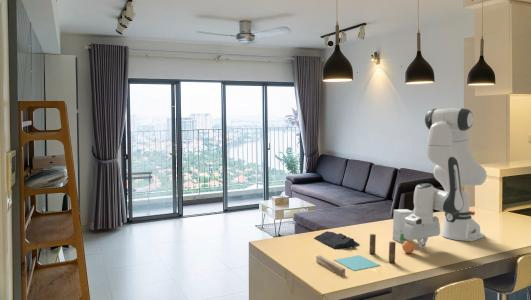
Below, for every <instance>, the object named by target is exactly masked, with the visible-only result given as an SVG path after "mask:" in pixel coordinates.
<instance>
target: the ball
mask: <svg viewBox="0 0 531 300" xmlns="http://www.w3.org/2000/svg"><path fill="white" fill-rule="evenodd" d="M401 248H402V250H403V251H404V253H407V254H412V253H413V252H414V251H415V249H416V245H415V244H414V241H412V242H411V241H405V242H402V246H401Z"/></svg>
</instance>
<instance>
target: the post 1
mask: <svg viewBox="0 0 531 300" xmlns="http://www.w3.org/2000/svg"><path fill="white" fill-rule="evenodd" d="M376 238H377V236H376V234H375V233H370V234H369V255H373V256H374V255H376V243H377V241H376Z"/></svg>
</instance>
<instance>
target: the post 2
mask: <svg viewBox="0 0 531 300" xmlns="http://www.w3.org/2000/svg"><path fill="white" fill-rule="evenodd" d="M396 242H397V241H389V242H388V263H389V264H392V265H394V264H396V244H397V243H396Z"/></svg>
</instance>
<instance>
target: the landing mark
mask: <svg viewBox="0 0 531 300" xmlns="http://www.w3.org/2000/svg"><path fill="white" fill-rule="evenodd" d="M334 261H335V263H338V264H341V265H342V266H345V267H346V268H347V269H349V270H352V271H353V272H355V271H356V272H357V271H359V270H367V269H370V268H374V267H375V268H376V267H380V266H381V264H378V263H377V262H374V261H373V260H371V259H368V258H366V257H364V256H362V255H361V254H360V255H359V254H358V255H352V256H347V257H342V258H337V259H333V262H334Z"/></svg>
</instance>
